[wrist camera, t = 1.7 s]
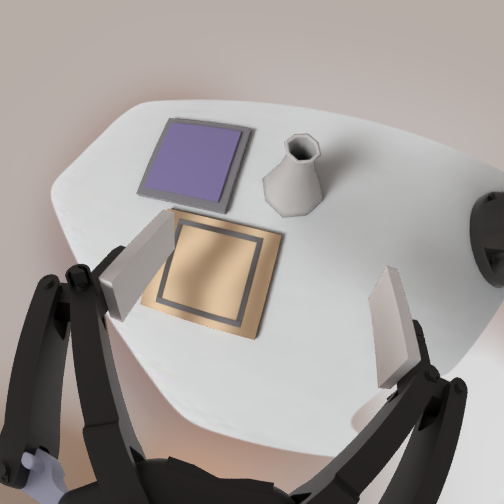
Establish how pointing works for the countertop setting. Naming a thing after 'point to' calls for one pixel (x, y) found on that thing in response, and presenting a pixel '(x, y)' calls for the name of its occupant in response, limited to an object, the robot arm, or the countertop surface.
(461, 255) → the countertop surface
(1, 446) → the robot arm
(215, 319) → the marked board
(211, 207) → the ink pad
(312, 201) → the flask
